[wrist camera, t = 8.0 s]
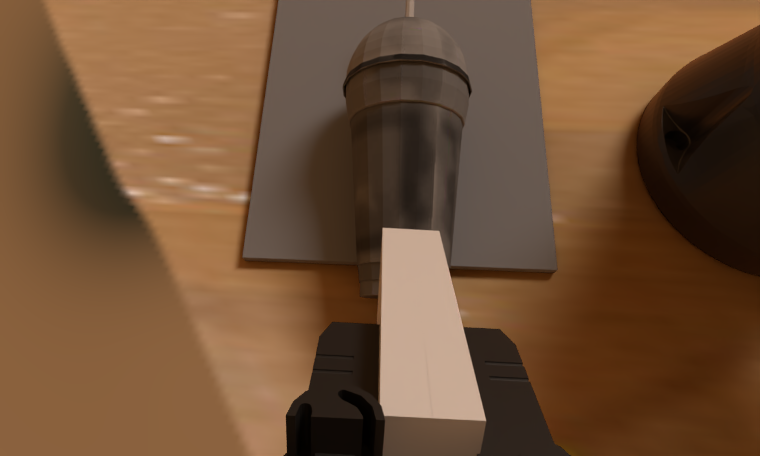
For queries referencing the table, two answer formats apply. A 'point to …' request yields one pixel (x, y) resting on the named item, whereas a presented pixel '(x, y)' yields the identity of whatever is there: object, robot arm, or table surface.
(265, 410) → the table surface
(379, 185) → the beverage cup
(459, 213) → the rubber mat
